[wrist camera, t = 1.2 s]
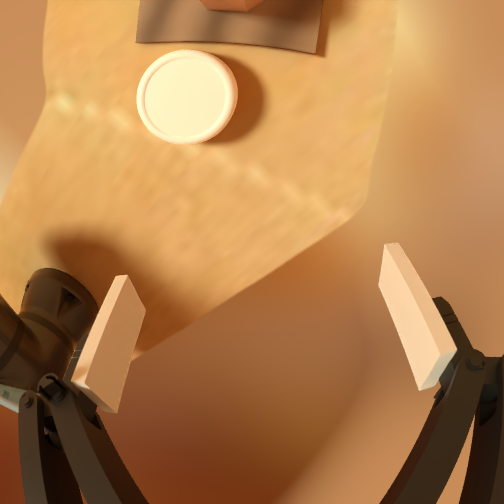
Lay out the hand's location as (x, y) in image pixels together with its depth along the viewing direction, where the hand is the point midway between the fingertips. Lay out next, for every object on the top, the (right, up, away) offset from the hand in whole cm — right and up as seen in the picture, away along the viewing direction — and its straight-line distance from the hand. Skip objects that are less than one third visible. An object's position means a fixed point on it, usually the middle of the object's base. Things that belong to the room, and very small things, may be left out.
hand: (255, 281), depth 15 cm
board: (-2, +29, +5) cm, 29 cm away
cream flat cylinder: (-7, +18, +13) cm, 23 cm away
